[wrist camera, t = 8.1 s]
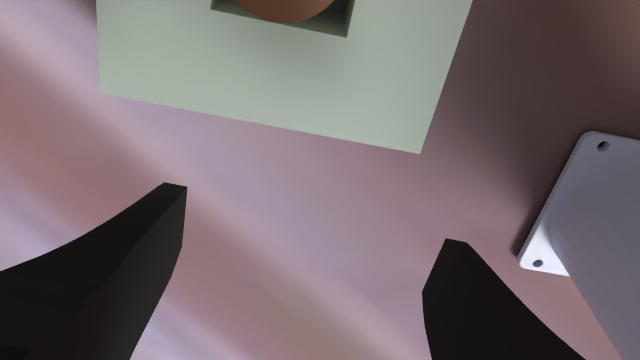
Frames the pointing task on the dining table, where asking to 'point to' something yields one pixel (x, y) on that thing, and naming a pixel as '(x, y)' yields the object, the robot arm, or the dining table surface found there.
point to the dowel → (284, 9)
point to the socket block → (287, 63)
